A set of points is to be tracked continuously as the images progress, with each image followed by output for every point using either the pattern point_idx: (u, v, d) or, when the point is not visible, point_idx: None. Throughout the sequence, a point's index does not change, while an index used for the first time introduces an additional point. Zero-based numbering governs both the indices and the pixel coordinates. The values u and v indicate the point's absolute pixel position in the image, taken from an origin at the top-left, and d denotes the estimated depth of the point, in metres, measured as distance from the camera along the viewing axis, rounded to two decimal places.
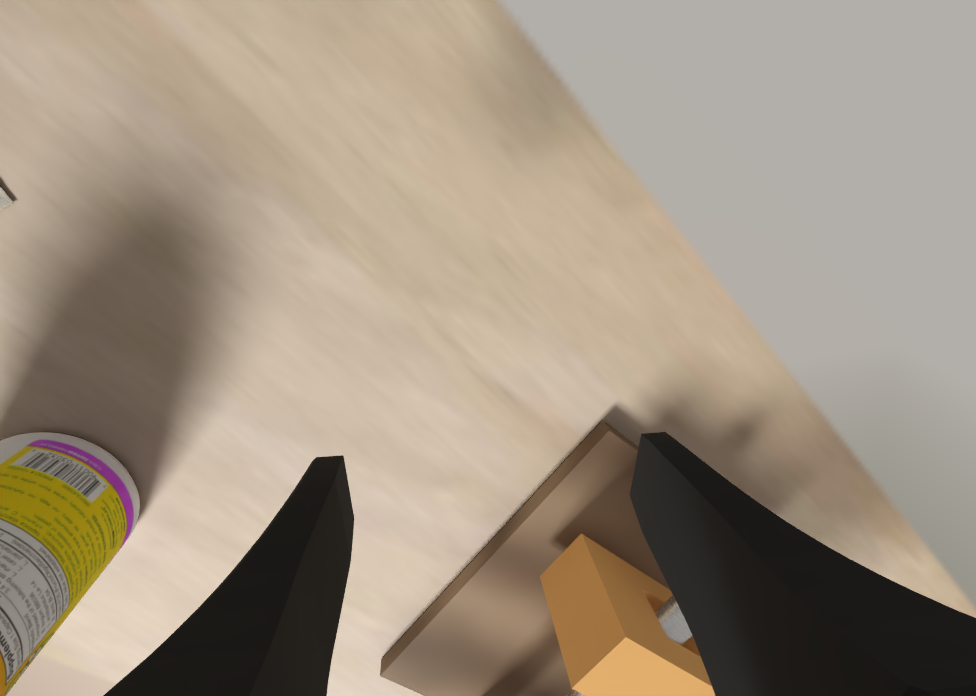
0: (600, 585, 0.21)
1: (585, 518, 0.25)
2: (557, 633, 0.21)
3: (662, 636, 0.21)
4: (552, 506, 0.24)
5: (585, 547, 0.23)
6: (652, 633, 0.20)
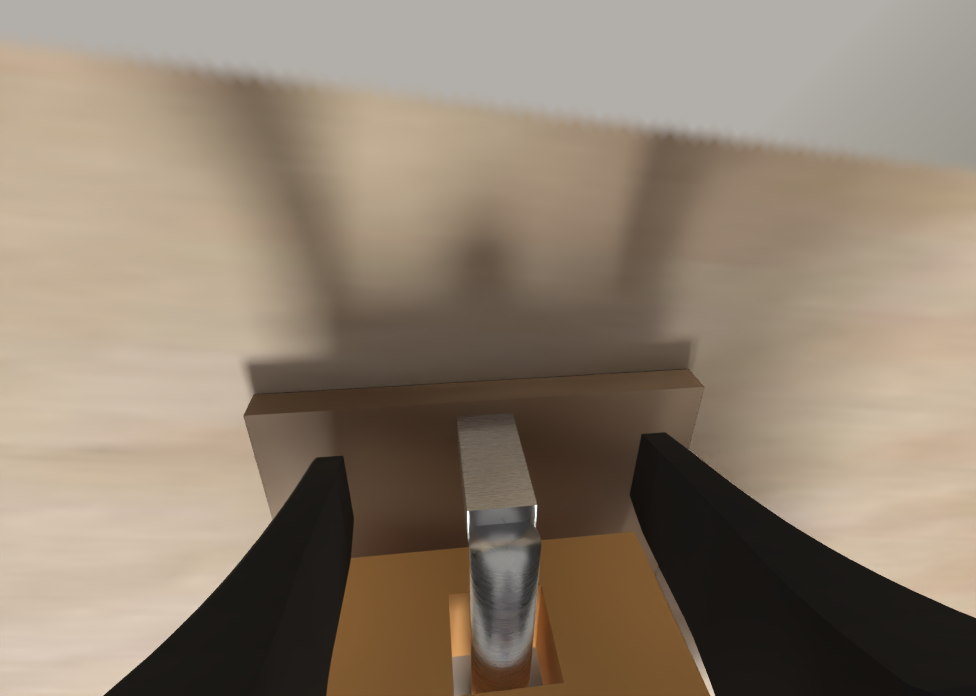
0: None
1: (355, 520, 0.16)
2: None
3: None
4: None
5: None
6: None
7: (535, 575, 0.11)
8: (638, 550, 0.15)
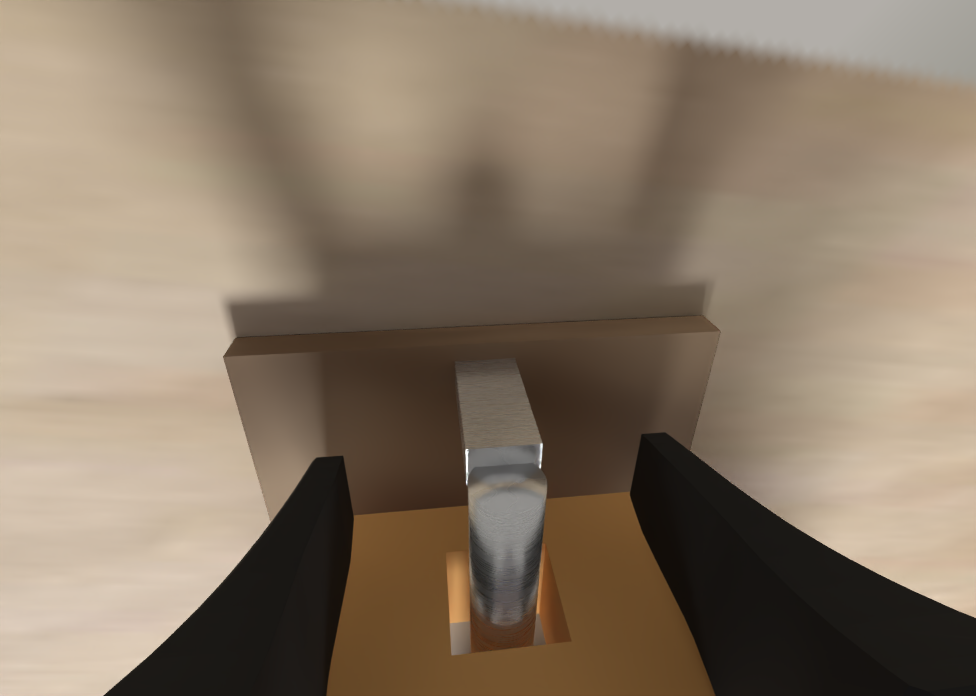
0: None
1: None
2: None
3: (432, 665, 0.10)
4: (283, 493, 0.15)
5: None
6: (396, 679, 0.10)
7: (541, 519, 0.10)
8: None
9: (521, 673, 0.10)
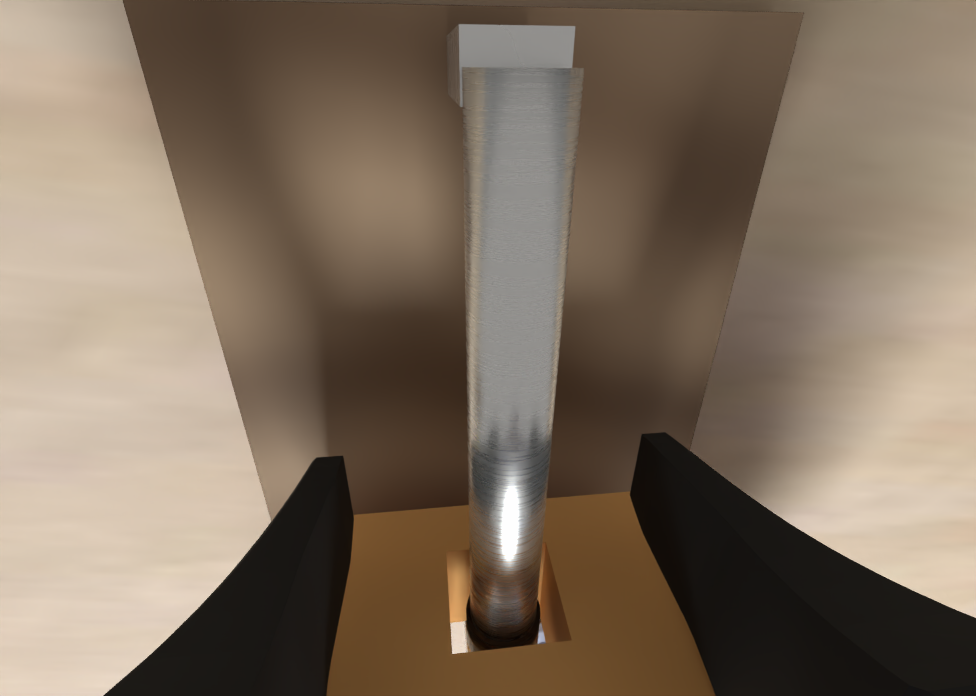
0: None
1: (305, 231, 0.11)
2: None
3: (432, 664, 0.11)
4: (222, 252, 0.11)
5: None
6: (397, 678, 0.10)
7: (574, 117, 0.07)
8: None
9: (521, 672, 0.10)
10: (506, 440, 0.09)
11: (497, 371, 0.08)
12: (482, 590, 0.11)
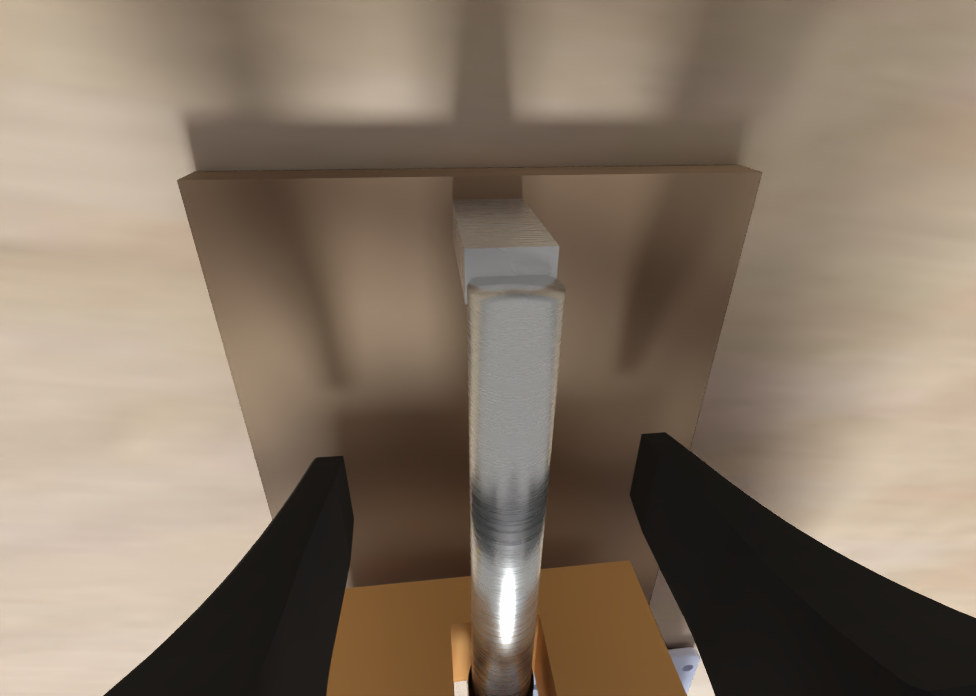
0: None
1: (327, 352, 0.13)
2: None
3: None
4: (255, 370, 0.13)
5: None
6: None
7: (557, 330, 0.08)
8: (633, 578, 0.16)
9: None
10: (503, 559, 0.10)
11: (495, 508, 0.10)
12: (482, 669, 0.13)
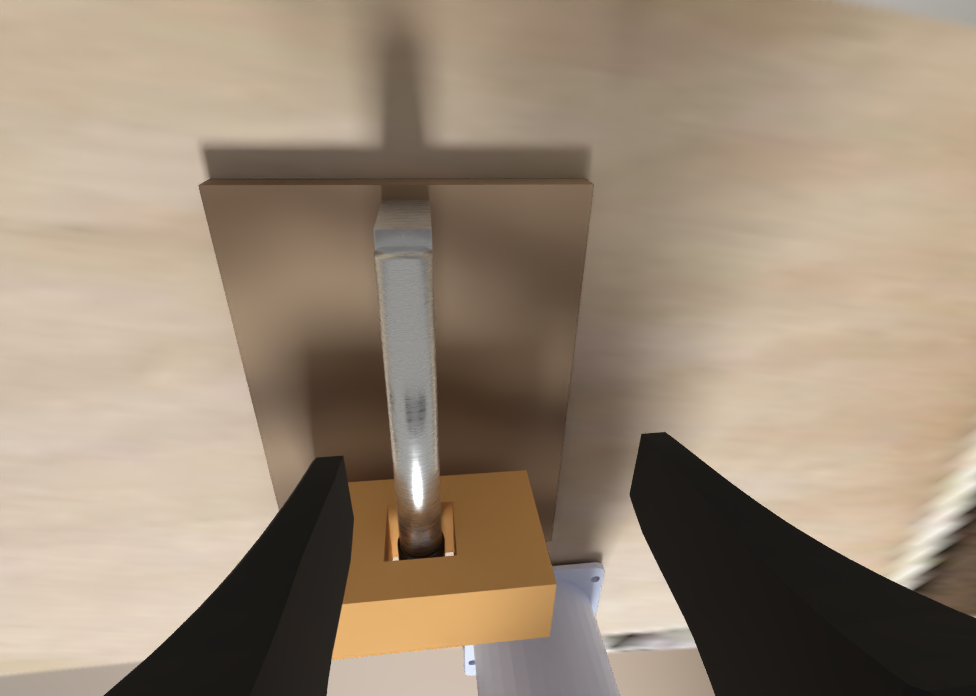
0: None
1: (299, 305, 0.18)
2: None
3: (370, 566, 0.18)
4: (248, 317, 0.18)
5: None
6: (349, 573, 0.17)
7: (426, 278, 0.14)
8: (526, 481, 0.22)
9: (423, 571, 0.18)
10: (407, 432, 0.16)
11: (399, 395, 0.15)
12: (403, 524, 0.18)
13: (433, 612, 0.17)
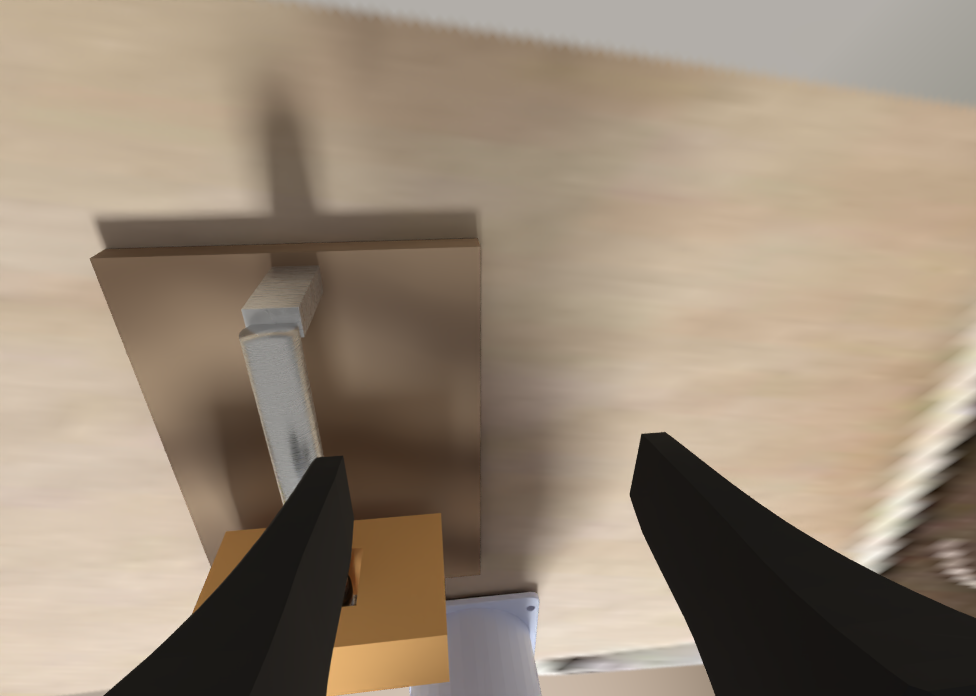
0: (200, 598, 0.19)
1: (201, 364, 0.19)
2: None
3: None
4: (153, 376, 0.19)
5: (219, 549, 0.21)
6: None
7: (290, 356, 0.14)
8: (438, 525, 0.22)
9: None
10: None
11: (279, 462, 0.16)
12: None
13: None
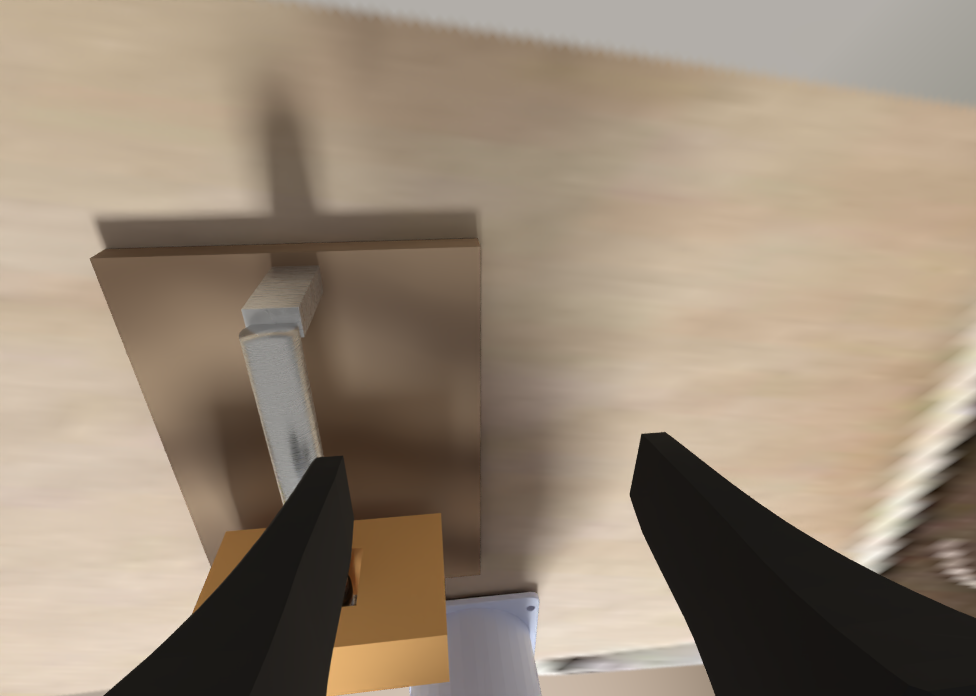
0: (200, 598, 0.19)
1: (201, 364, 0.19)
2: None
3: None
4: (153, 376, 0.19)
5: (219, 549, 0.21)
6: None
7: (290, 356, 0.14)
8: (438, 525, 0.22)
9: None
10: None
11: (279, 462, 0.16)
12: None
13: None
